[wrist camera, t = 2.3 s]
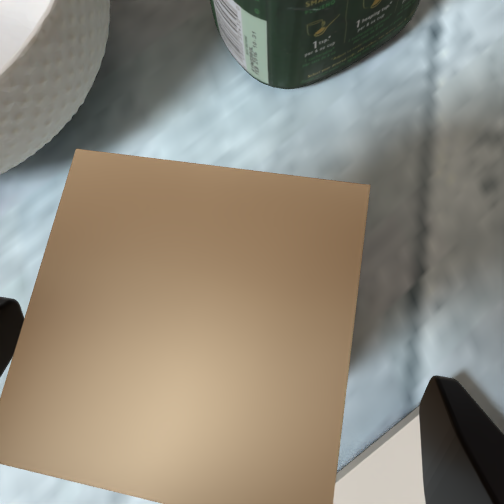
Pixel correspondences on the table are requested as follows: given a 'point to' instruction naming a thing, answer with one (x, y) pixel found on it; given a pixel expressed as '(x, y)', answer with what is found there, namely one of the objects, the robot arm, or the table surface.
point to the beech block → (189, 333)
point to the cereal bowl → (45, 69)
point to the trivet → (386, 469)
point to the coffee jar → (306, 35)
